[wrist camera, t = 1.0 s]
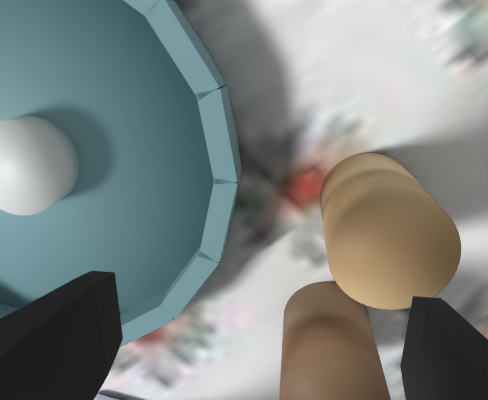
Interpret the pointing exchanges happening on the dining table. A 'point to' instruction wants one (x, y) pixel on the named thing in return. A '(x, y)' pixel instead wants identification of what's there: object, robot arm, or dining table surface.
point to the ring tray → (112, 154)
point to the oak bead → (385, 233)
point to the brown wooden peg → (329, 348)
